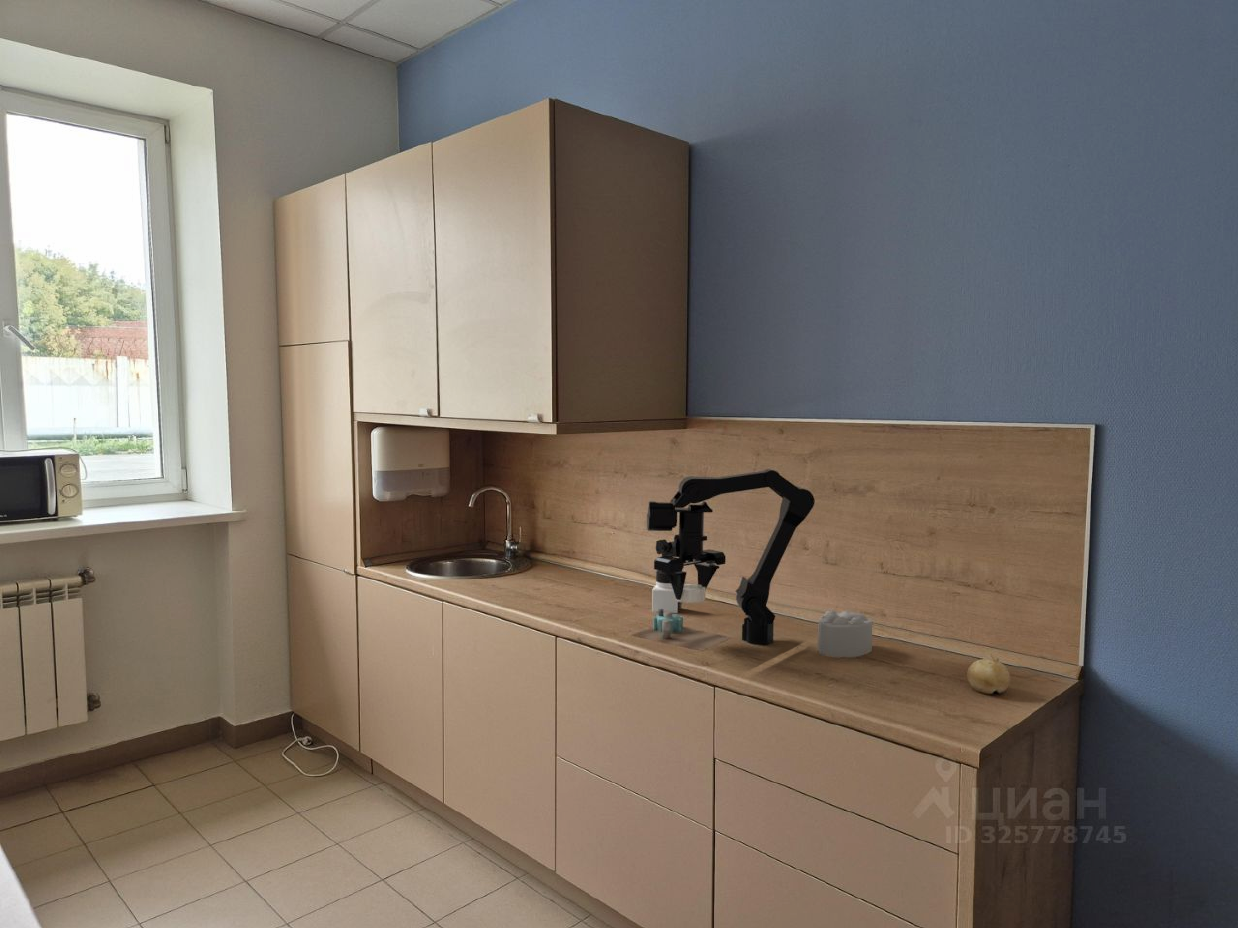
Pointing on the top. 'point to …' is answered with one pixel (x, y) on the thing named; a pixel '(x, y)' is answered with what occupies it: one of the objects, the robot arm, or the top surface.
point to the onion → (988, 676)
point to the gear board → (682, 636)
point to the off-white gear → (692, 593)
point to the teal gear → (675, 620)
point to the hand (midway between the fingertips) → (689, 597)
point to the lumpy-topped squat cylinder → (844, 634)
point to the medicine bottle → (664, 595)
